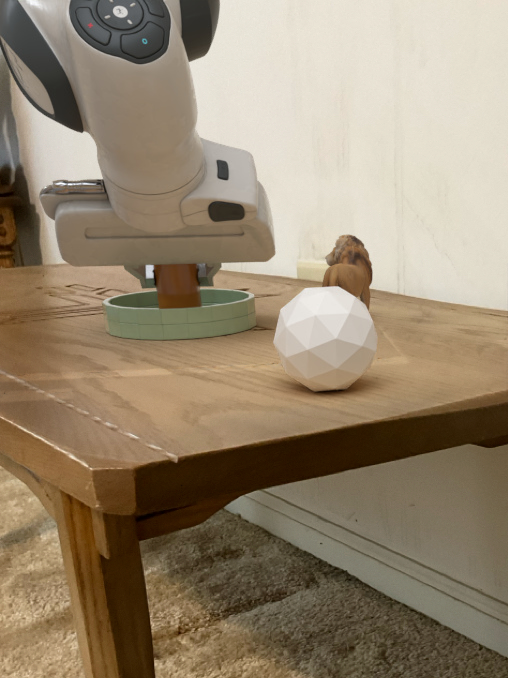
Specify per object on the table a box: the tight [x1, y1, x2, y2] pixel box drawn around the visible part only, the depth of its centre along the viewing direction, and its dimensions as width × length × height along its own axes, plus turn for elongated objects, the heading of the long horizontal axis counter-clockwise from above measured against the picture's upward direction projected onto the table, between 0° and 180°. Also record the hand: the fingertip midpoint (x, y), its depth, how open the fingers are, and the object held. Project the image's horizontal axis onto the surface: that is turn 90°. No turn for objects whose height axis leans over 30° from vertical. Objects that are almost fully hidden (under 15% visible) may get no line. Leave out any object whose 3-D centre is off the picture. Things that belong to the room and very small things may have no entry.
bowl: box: [101, 287, 257, 341], centre depth 88 cm, size 15×15×4 cm
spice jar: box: [153, 264, 202, 308], centre depth 87 cm, size 4×4×9 cm
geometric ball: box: [272, 286, 379, 393], centre depth 64 cm, size 8×8×8 cm
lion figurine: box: [321, 234, 374, 311], centre depth 89 cm, size 15×5×9 cm, turn 0°
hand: (178, 282), depth 88 cm, fingers closed on spice jar, 4 cm apart
